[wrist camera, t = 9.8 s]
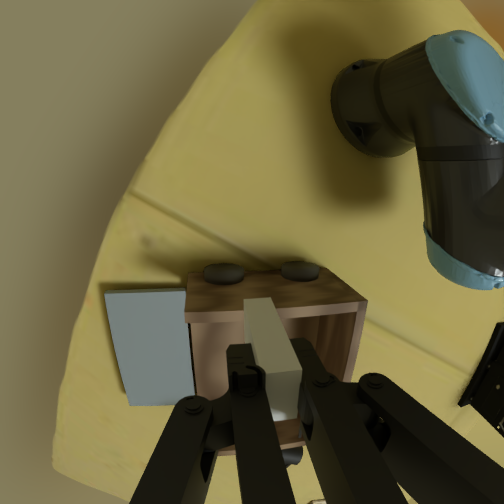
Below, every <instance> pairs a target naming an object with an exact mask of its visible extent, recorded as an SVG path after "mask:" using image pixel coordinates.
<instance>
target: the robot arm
mask: <svg viewBox="0 0 504 504" xmlns="http://www.w3.org/2000/svg"><path fill="white" fill-rule="evenodd" d="M331 107H332V112H333V115H334V119H335V121H336V123H337V126H338V127H339V129H340V131H341V132H342V134H343V135H344V137H345V138H346V139H347V140H348V141H349V142H350V143H351V144H352V145H353V146H354V147H355V148H357V149H358V150H359V151H361V152H363V153H365V154H367V155H370V156H373V157H395V156H399V155H402V154H404V153H405V152H407V151H408V150H410V149H412V148H413V147H415V146H416V151H417V157H418V165H419V172H420V180H421V188H422V197H423V208H424V222H423V228H424V233H425V235H426V245H427V255H428V258H429V261H430V263H431V264H432V266H433V267H434V268H435V269H436V270H437V271H438V273H439V274H441V275H442V276H443V277H445V278H446V279H448V280H450V281H452V282H454V283H456V284H458V285H461V286H464V287H467V288H472V289H477V290H492V289H493V287H495V288H501V287H504V61H503V59H502V58H501V57H500V56H499V55H498V53H497V52H496V51H495V50H494V48H493V47H492V46H491V45H489V44H488V43H487V42H486V41H485V40H483V39H482V38H481V37H479V36H477V35H476V34H474V33H471V32H468V31H464V30H454V31H451V32H447V33H444V34H441V35H433V36H431V37H429V38H428V39H427V40H425V41H423V42H421V43H419V44H417V45H414V46H412V47H410V48H408V49H406V50H404V51H402V52H400V53H398V54H396V55H394V56H392V57H390V58H388V59H364V60H360V61H357V62H354V63H352V64H351V65H349V66H348V67H346V68H345V69H343V70H342V71H341V72H340V73H339V74H338V76H337V77H336V79H335V81H334V84H333V87H332V91H331ZM244 333H245V344H230V345H229V347H228V348H227V350H226V360H227V374H228V385H229V388H228V390H227V392H226V393H225V394H224V395H223V396H221V397H220V398H217V399H214V400H211V401H210V400H208V399H207V398H205V397H202V396H199V395H190V396H186V397H184V398H182V399H180V400H179V401H178V402H177V403H176V405H175V407H174V409H173V411H172V413H171V415H170V418H169V420H168V422H167V424H166V426H165V428H164V430H163V432H162V435H161V437H160V439H159V441H158V443H157V445H156V447H155V449H154V452H153V454H152V456H151V458H150V460H149V462H148V464H147V466H146V469H145V471H144V473H143V475H142V477H141V479H140V481H139V484H138V486H137V488H136V490H135V492H134V494H133V496H132V499H131V501H130V503H129V504H204V502H205V499H206V495H207V492H208V488H209V484H210V481H211V477H212V473H213V470H214V466H215V462H216V459H217V455H218V450H219V449H222V448H225V447H228V446H231V445H235V453H236V461H237V469H238V477H239V485H240V492H241V500H242V504H296V502H295V498H294V495H293V491H292V487H291V484H290V480H289V476H288V473H287V469H286V465H285V462H284V458H283V454H282V451H281V447H280V443H279V439H278V436H277V432H276V428H275V424H274V421H281V420H288V419H295V418H297V413H298V411H299V414H300V417H301V419H300V426H299V433H298V438H301V435H302V434H303V437H304V440H305V443H306V446H307V449H308V452H309V455H310V458H311V461H312V463H313V466H314V469H315V472H316V475H317V478H318V481H319V484H320V486H321V489H322V492H323V495H324V498H325V501H326V504H408V502H407V500H406V498H405V497H404V495H403V493H402V491H401V489H400V487H399V486H398V484H399V485H400V486H401V487H402V488H403V489H404V490H405V491H406V492H407V493H408V494H409V495H410V496H411V497H412V498H413V499H414V500H415V501H416V502H417V503H418V504H504V468H503V467H501V466H500V465H499V464H497V463H496V462H495V461H493V460H492V459H491V458H489V457H488V456H487V455H486V454H484V453H483V452H482V451H480V450H479V449H478V448H476V447H475V446H474V445H473V444H471V443H470V442H469V441H467V440H466V439H465V438H464V437H462V436H461V435H460V434H458V433H457V432H456V431H455V430H453V429H452V428H451V427H449V426H448V425H447V424H446V423H444V422H443V421H442V420H440V419H439V418H438V417H437V416H435V415H434V414H433V413H432V412H430V411H429V410H428V409H427V408H425V407H424V406H423V405H421V404H420V403H419V402H418V401H416V400H415V399H414V398H413V397H411V396H410V395H409V394H408V393H406V392H405V391H404V390H403V389H401V388H400V387H399V386H398V385H396V384H395V383H394V382H392V381H391V380H390V379H389V378H387V377H386V376H384V375H382V374H379V373H368V374H364V375H363V376H361V378H360V379H359V382H358V383H356V382H341V381H339V379H338V378H337V377H336V376H335V375H333V374H332V373H329V372H327V371H326V369H325V367H324V365H323V364H322V362H321V360H320V358H319V356H318V355H317V353H316V351H315V350H314V347H313V345H312V344H311V342H310V341H308V340H307V339H305V338H304V337H302V338H293V339H289V338H288V336H287V333H286V331H285V329H284V327H283V324H282V322H281V320H280V318H279V315H278V313H277V311H276V308H275V306H274V304H273V302H272V299H271V297H269V298H254V299H244ZM381 418H382V419H383V420H382V419H381ZM397 483H398V484H397Z"/></svg>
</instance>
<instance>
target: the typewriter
mask: <svg viewBox="0 0 504 504" xmlns="http://www.w3.org/2000/svg"><path fill="white" fill-rule="evenodd" d="M468 404H470V405H471V406H472V407H473V408H474V409H475V410H476V411H478V412H479V413H480V414H481V415H482V416H483V417H484V418H485V419H486V420H487V421H488V422H489V423H490V424H491V425H492V426H493V427H494V428H495V429H496V430H497V431H498V432H499V433H500V434H501V435H502V436H503V437H504V322H503V323H497V324H496V327H495V329H494V332H493V334H492V337H491V339H490V341H489V344H488V346H487V348H486V351H485V353H484V355H483V357H482V359H481V361H480V363H479V365H478V367H477V369H476V371H475V373H474V375H473V377H472V379H471V381H470V383H469V385H468V387H467V388H466V390H465V392H464V394H463V395H462V397H461V399H460V401H459V402H458V405H459V406H460V407H463V406H466V405H468ZM497 426H499V427H500V428H499V429H498V428H497Z"/></svg>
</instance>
